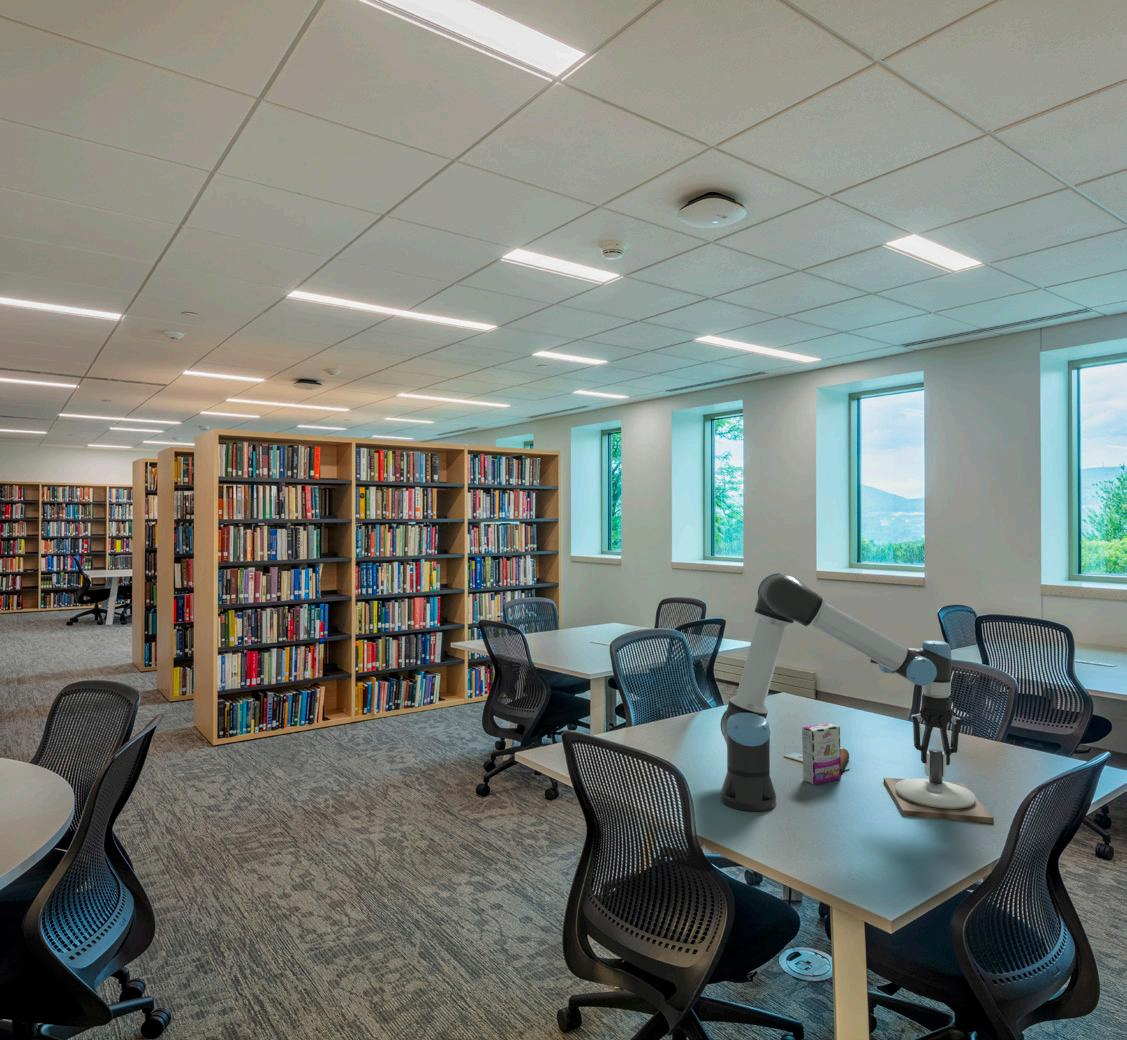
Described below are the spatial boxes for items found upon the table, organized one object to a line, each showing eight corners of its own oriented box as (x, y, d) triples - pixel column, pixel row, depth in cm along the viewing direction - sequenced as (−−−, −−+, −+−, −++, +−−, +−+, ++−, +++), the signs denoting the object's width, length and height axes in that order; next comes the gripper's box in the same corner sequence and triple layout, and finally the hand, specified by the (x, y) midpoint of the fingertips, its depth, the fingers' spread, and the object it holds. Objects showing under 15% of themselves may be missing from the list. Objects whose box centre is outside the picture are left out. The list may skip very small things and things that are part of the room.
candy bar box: (829, 774, 228) (828, 722, 228) (841, 779, 223) (841, 726, 223) (801, 780, 223) (801, 726, 223) (813, 785, 219) (813, 730, 219)
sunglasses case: (822, 755, 247) (833, 739, 245) (841, 768, 244) (852, 752, 243) (813, 771, 231) (824, 754, 230) (833, 785, 228) (845, 769, 227)
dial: (975, 814, 192) (975, 775, 192) (892, 800, 202) (892, 763, 202) (975, 790, 210) (975, 754, 210) (898, 778, 219) (898, 744, 219)
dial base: (902, 815, 196) (902, 809, 196) (883, 782, 221) (883, 776, 221) (993, 823, 191) (993, 817, 191) (963, 788, 216) (963, 782, 216)
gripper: (963, 693, 215) (962, 773, 215) (902, 689, 219) (901, 768, 219) (971, 699, 208) (970, 782, 208) (908, 695, 211) (907, 776, 211)
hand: (935, 774), depth 213 cm, fingers closed on dial, 4 cm apart
